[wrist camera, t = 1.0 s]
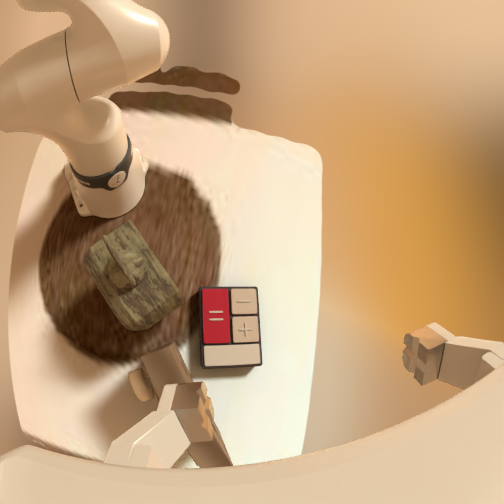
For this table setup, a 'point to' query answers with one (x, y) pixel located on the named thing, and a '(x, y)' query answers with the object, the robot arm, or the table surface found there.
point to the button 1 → (141, 385)
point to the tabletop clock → (132, 278)
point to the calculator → (229, 327)
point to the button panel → (174, 372)
